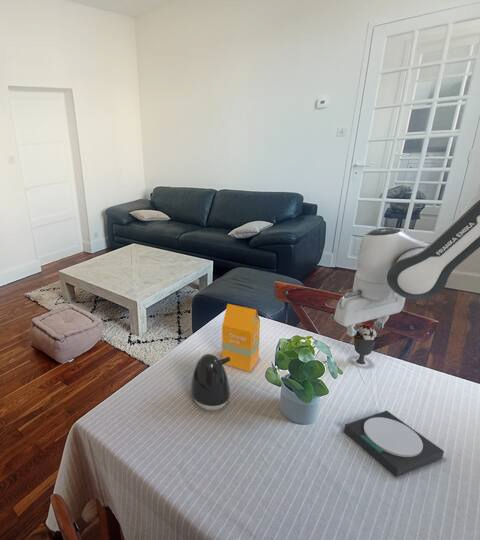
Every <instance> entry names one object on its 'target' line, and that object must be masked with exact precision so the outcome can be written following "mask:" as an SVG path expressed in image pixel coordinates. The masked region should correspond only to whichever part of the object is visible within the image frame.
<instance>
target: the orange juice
mask: <svg viewBox="0 0 480 540" xmlns="http://www.w3.org/2000/svg"><path fill="white" fill-rule="evenodd" d="M260 331H261V319H260V316H259V313H258V311H257V309H255V308H251V307H246V306H241V305H236V304H231V303H227V304H226V308H225V312H224V316H223V322H222V325H221V352H222V353H221V357H222V358H221V359H223V358H226V357H230V361H229V362H227V363H225V364H224V365H228V366H231V367H233V368H237V369H239V370H243V371H246V372H252V370H253V368H254V366H256V363H257V362H258V360H259V354H260V353H259V352H260Z"/></svg>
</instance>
